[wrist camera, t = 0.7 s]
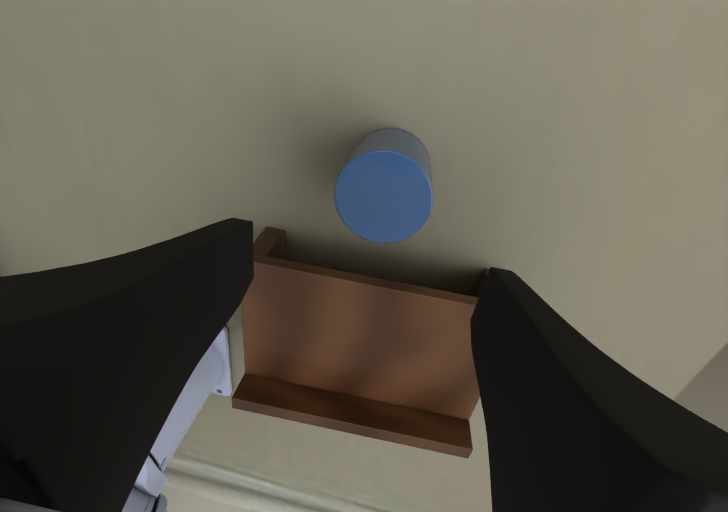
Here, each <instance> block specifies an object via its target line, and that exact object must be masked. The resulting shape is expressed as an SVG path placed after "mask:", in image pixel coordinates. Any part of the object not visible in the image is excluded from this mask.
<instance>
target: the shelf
mask: <svg viewBox="0 0 728 512" xmlns="http://www.w3.org/2000/svg"><path fill="white" fill-rule="evenodd" d="M284 238H285V231H284V230H279V229H274V228H269V227H266V229H265V230H264V231H263V232H262V233H261V235H260V236H259V237H258V238H257V239H256V241H255V242H254V243H253V258H254V278H253V280H252V282H251V284H250V286H249V288H248V290H247V292H246V294H245V296H244V298H243V300H242V319H243V340H244V360H245V374H244V376H243V378H242V380H241V381H240V383H239V385H238V387H237V389H236V391H235V393H234V395H233V396H232V407H233V408H236V409H240V410H245V411H250V412H254V413H259V414H264V415H268V416H273V417H278V418H282V419H287V420H291V421H296V422H301V423H305V424H310V425H315V426H319V427H324V428H329V429H333V430H338V431H343V432H347V433H352V434H357V435H361V436H366V437H371V438H375V439H380V440H384V441H389V442H394V443H398V444H403V445H408V446H412V447H417V448H422V449H426V450H431V451H436V452H440V453H445V454H450V455H454V456H459V457H463V458H469V456H470V454H471V452H472V450H473V448H472V440H471V432H470V424H469V419H470V417H471V415H472V412H473V410H474V408H475V406H476V404H477V402H478V400H479V398H480V392H479V387H478V382H477V377H476V371H475V366H474V361H473V355H472V349H471V329H470V319H471V317H472V314H473V311H474V309H475V306H476V304H477V301H478V299H479V296H480V293H481V291H482V288H483V286H484V283H485V281H486V278H487V275H488V273H489V269H485V271H484V274H483V276H482V279H481V282H480V284H479V287H478V290H477V292H476V295H475V297H473V296H468V295H462V294H457V293H452V292H447V291H442V290H437V289H432V288H427V287H421V286H416V285H411V284H406V283H401V282H396V281H391V280H385V279H380V278H375V277H370V276H365V275H360V274H355V273H350V272H344V271H339V270H334V269H329V268H324V267H319V266H314V265H309V264H303V263H298V262H293V261H288V260H284Z"/></svg>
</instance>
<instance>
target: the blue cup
mask: <svg viewBox="0 0 728 512" xmlns="http://www.w3.org/2000/svg"><path fill="white" fill-rule="evenodd" d="M334 199H335V205H336V209H337V212H338V214H339V216H340V218H341V220H342V221H343V222H344V224H345V225H346V226H347V227H348V228H349V229H350V230H351V231H352V232H353V233H355V234H356V235H358V236H359V237H361V238H363V239H366V240H369V241H372V242H377V243H393V242H398V241H401V240H404V239H406V238H408V237H410V236H412V235H413V234H415V233H416V232H417V231H418V230H419V229H420V228H421V227H422V226H423V225H424V224H425V222H426V221H427V219H428V217H429V215H430V212H431V210H432V205H433V186H432V173H431V161H430V157H429V154H428V152H427V150H426V148H425V146H424V145H423V144H422V142H421V141H420V140H419V139H418V138H417V137H415V136H414V135H413V134H411V133H409V132H407V131H404V130H401V129H396V128H385V129H380V130H377V131H374V132H372V133H370V134H369V135H367V136H366V137H364V138H363V139H362V140H361V141H360V142H359V144H358V145H357V147H356V148H355V150H354V151H353V153H352V155H351V156H350V158H349V159H348V161H347V163H346V164H345V166H344V167H343V169H342V171H341V172H340V174H339V176H338V178H337V181H336V184H335V190H334Z"/></svg>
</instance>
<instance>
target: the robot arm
mask: <svg viewBox="0 0 728 512" xmlns="http://www.w3.org/2000/svg"><path fill="white" fill-rule="evenodd" d="M253 278H254V258H253V222H252V221H247V220H242V219H237V218H230V219H226V220H223V221H220V222H217V223H214V224H211V225H208V226H206V227H203V228H200V229H197V230H195V231H192V232H189V233H186V234H184V235H181V236H178V237H175V238H173V239H170V240H166V241H163V242H160V243H157V244H154V245H151V246H148V247H145V248H142V249H139V250H135V251H132V252H129V253H125V254H121V255H117V256H113V257H109V258H105V259H101V260H97V261H93V262H88V263H83V264H78V265H72V266H67V267H61V268H56V269H50V270H45V271H40V272H33V273H26V274H19V275H11V276H4V277H0V512H167V510H166V508H167V499H166V497H165V496H164V495H162V494H161V493H160V492H161V490H162V489H163V487H164V485H165V483H166V482H167V480H168V478H169V477H168V476H167V475H166V474H164V473H163V471H164V470H165V468H166V466H167V465H168V463H169V461H170V460H171V458H172V456H173V455H174V453H175V451H176V450H177V448H178V446H179V445H180V443H181V441H182V440H183V438H184V436H185V435H186V433H187V431H188V430H189V428H190V426H191V425H192V423H193V421H194V420H195V418H196V416H197V415H198V413H199V411H200V410H201V408H202V406H203V405H204V403H205V401H206V400H207V398H208V396H209V395H210V393H214V394H218V395H223V396H229V395H230V394H231V392H232V382H231V369H230V357H229V344H228V331H227V328H226V327H225V325H226V324H227V322H228V321H229V319H230V318H231V316H232V315H233V314H234V312H235V311H236V309H237V308H238V306H239V305H240V303H241V302H242V300H243V298H244V296H245V294H246V292H247V290H248V288H249V286H250V284H251V282H252V280H253ZM470 329H471V349H472V355H473V361H474V366H475V371H476V377H477V382H478V387H479V392H480V397H481V402H482V408H483V413H484V418H485V425H486V431H487V441H488V453H489V465H490V479H491V495H492V512H728V433H727V432H725V431H724V430H722V429H720V428H718V427H717V426H715V425H713V424H711V423H709V422H708V421H706V420H704V419H703V418H701V417H699V416H697V415H696V414H694V413H692V412H691V411H689V410H687V409H686V408H684V407H682V406H681V405H679V404H678V403H676V402H674V401H673V400H671V399H670V398H668V397H667V396H665V395H663V394H662V393H660V392H659V391H657V390H656V389H654V388H653V387H651V386H650V385H648V384H646V383H645V382H643V381H642V380H641V379H639V378H638V377H636V376H635V375H633V374H632V373H630V372H629V371H628V370H626V369H625V368H623V367H622V366H621V365H619V364H618V363H617V362H615V361H614V360H613V359H611V358H610V357H609V356H607V355H606V354H605V353H603V352H602V351H601V350H599V349H598V348H597V347H596V346H594V345H593V344H592V343H591V342H589V341H588V340H587V339H586V338H585V337H584V336H582V335H581V334H580V333H579V332H578V331H577V330H575V329H574V328H573V327H572V326H571V325H570V324H569V323H567V322H566V321H565V320H564V319H563V318H562V317H561V316H560V315H559V314H558V313H556V312H555V311H554V310H553V309H552V308H551V307H550V306H549V305H548V304H547V303H546V302H545V301H544V300H543V299H542V298H541V297H540V296H539V295H538V294H537V293H535V292H534V291H533V290H532V289H531V288H530V287H529V286H528V285H527V284H526V283H525V282H524V281H523V280H522V279H521V278H520V277H518V276H517V275H516V274H515V273H514V272H512V271H509V270H504V269H498V268H493V267H491V268H490V270H489V273H488V275H487V278H486V281H485V283H484V286H483V288H482V291H481V293H480V296H479V299H478V301H477V304H476V306H475V309H474V311H473V314H472V317H471V319H470Z"/></svg>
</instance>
